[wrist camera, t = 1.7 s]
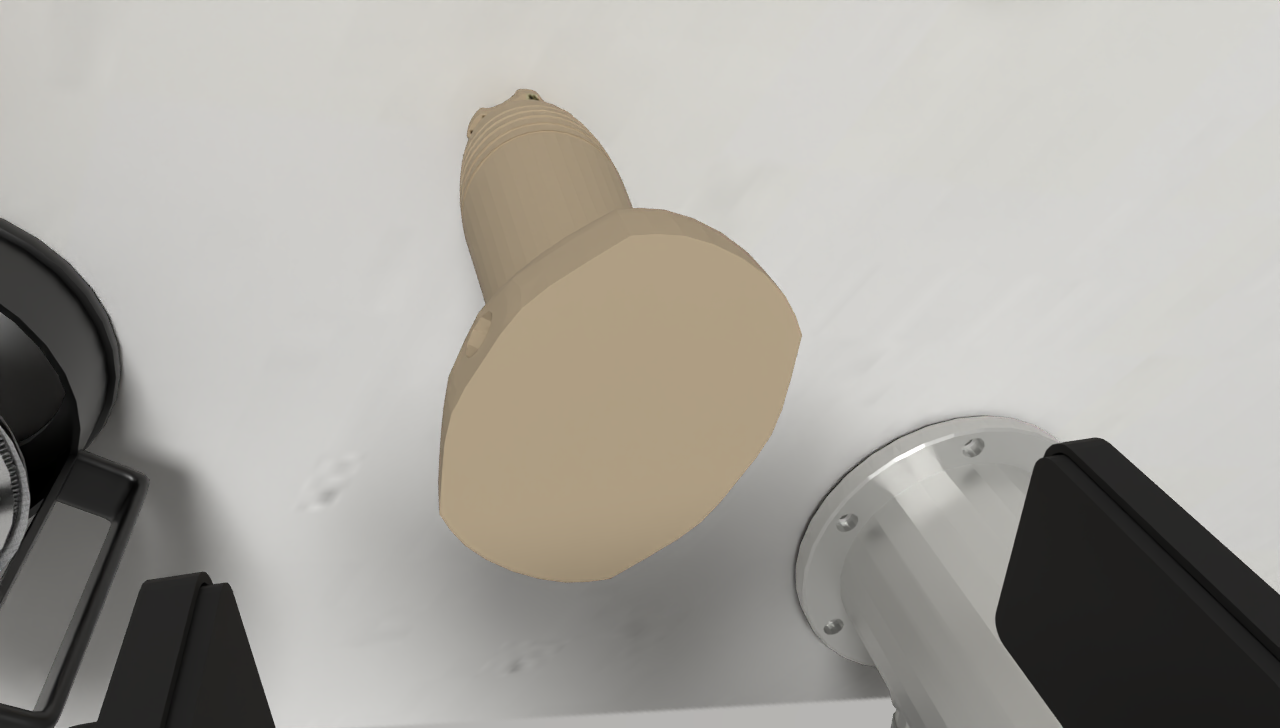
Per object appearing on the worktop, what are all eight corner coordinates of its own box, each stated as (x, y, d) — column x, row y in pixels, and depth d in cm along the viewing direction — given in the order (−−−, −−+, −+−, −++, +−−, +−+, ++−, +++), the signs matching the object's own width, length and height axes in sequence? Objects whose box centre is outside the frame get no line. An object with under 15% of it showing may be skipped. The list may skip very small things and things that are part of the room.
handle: (649, 92, 27) (860, 329, 15) (533, 269, 29) (629, 613, 17) (506, -5, 25) (605, 174, 12) (391, 193, 27) (376, 522, 14)
